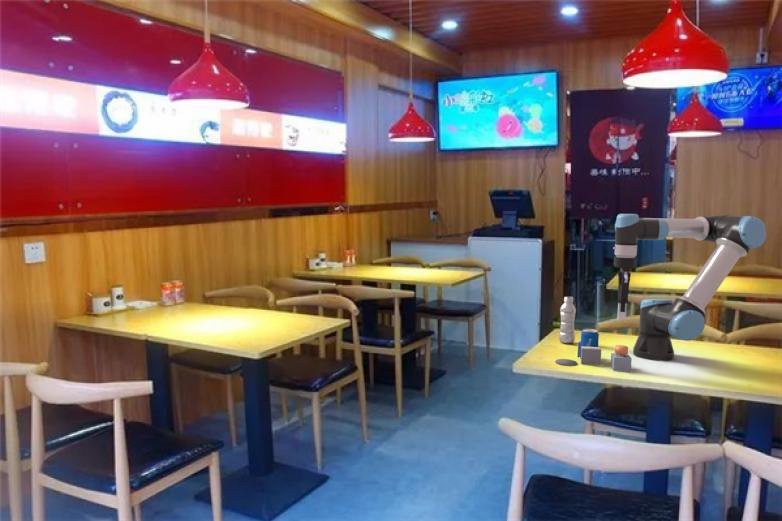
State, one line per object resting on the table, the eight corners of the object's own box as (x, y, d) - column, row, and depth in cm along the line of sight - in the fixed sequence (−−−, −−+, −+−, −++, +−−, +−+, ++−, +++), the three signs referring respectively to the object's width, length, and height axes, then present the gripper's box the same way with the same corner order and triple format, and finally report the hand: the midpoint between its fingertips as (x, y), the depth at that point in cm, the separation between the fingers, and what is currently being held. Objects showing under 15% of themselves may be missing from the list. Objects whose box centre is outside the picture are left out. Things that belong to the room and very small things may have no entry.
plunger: (625, 364, 228) (626, 345, 227) (628, 368, 224) (629, 348, 223) (613, 364, 229) (614, 344, 228) (615, 367, 224) (616, 347, 224)
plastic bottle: (575, 345, 260) (577, 299, 258) (559, 344, 262) (561, 298, 259) (574, 341, 266) (576, 296, 264) (558, 340, 268) (560, 295, 266)
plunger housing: (627, 367, 229) (627, 354, 228) (630, 371, 223) (631, 358, 222) (610, 366, 230) (611, 353, 229) (613, 370, 224) (614, 357, 223)
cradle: (595, 357, 242) (596, 341, 241) (600, 365, 231) (601, 348, 230) (577, 356, 243) (577, 340, 242) (581, 364, 232) (582, 347, 231)
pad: (575, 360, 237) (575, 359, 237) (578, 366, 229) (578, 365, 229) (554, 359, 238) (554, 358, 238) (556, 365, 230) (556, 364, 230)
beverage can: (579, 361, 235) (580, 331, 234) (580, 357, 241) (582, 327, 240) (596, 363, 233) (598, 332, 231) (597, 359, 239) (599, 329, 237)
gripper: (612, 254, 229) (608, 316, 232) (616, 257, 217) (612, 323, 219) (633, 255, 227) (629, 317, 230) (638, 258, 215) (634, 324, 218)
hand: (621, 320), depth 225 cm, fingers closed
